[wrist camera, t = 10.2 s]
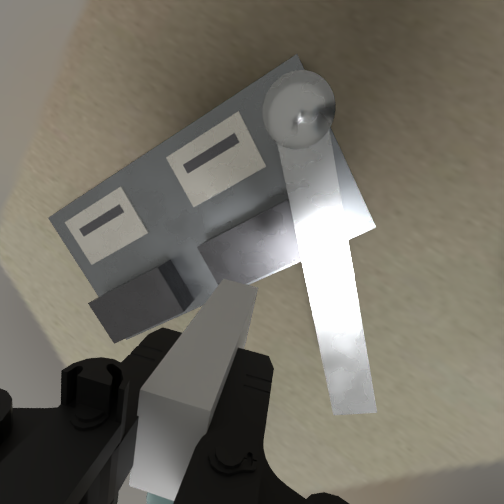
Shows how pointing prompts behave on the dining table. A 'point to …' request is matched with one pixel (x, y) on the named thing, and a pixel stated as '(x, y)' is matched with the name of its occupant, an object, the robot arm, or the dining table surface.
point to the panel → (193, 216)
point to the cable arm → (321, 232)
